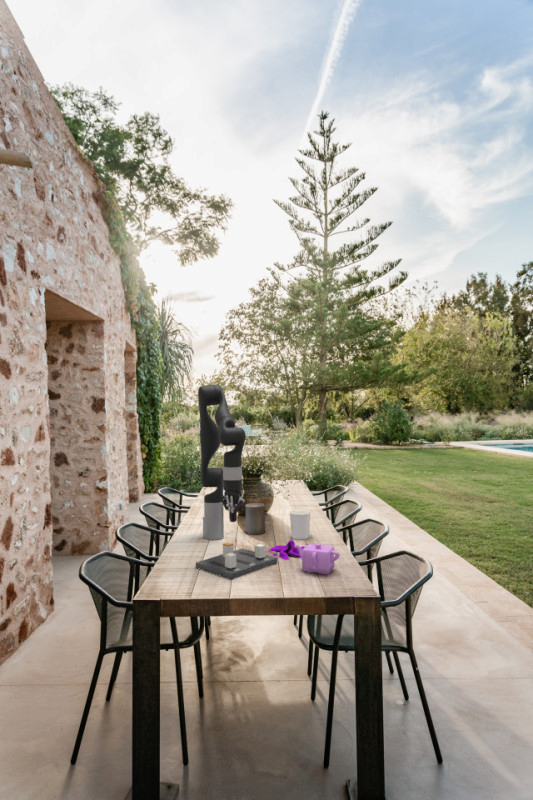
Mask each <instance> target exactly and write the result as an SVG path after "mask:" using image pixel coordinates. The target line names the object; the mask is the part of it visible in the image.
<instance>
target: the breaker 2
mask: <svg viewBox="0 0 533 800" xmlns="http://www.w3.org/2000/svg"><path fill="white" fill-rule="evenodd" d="M254 552H255V557H257V558H263V557H266V555H267V554H266V552H267V551H266V544H262V543H258V544H255V545H254Z"/></svg>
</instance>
